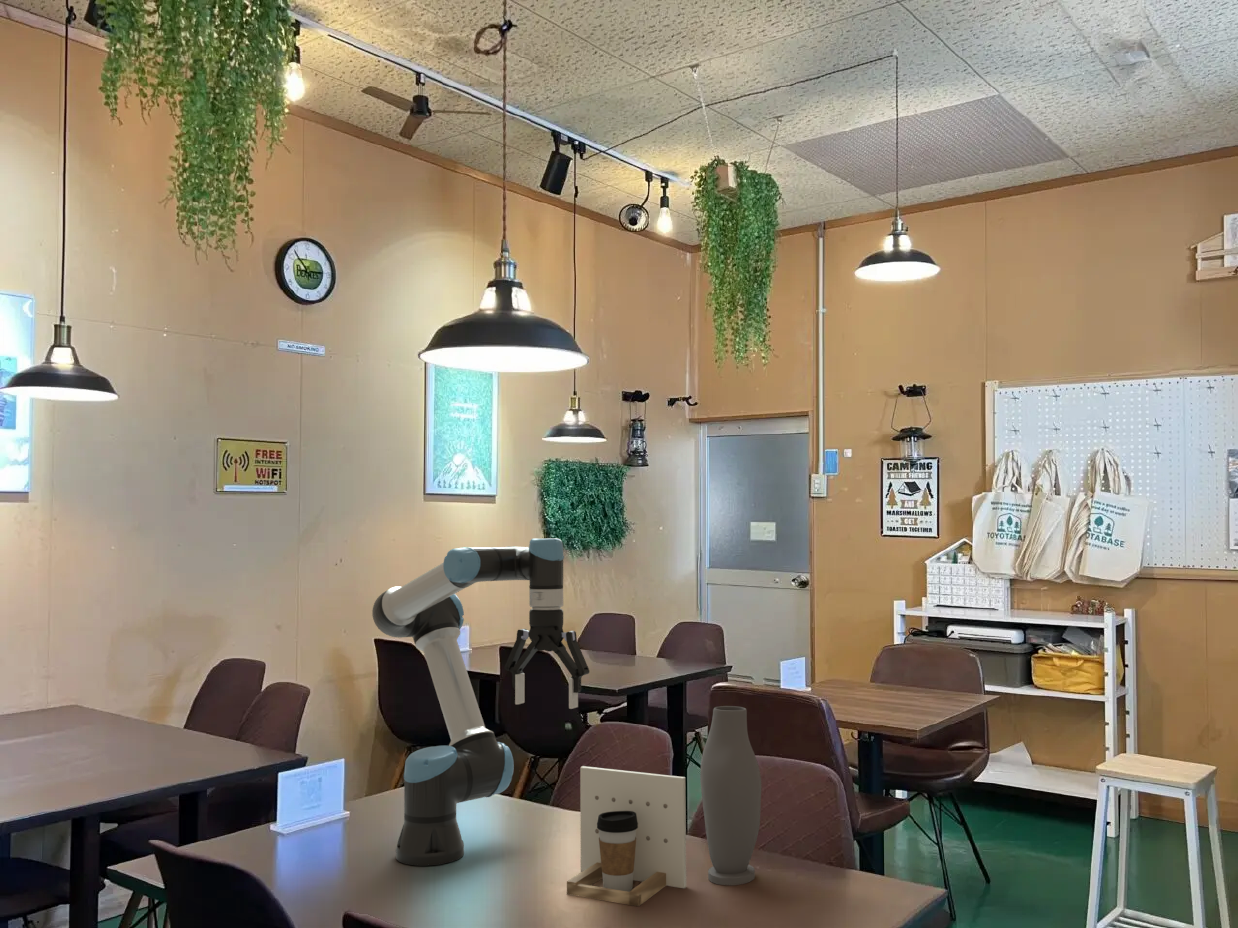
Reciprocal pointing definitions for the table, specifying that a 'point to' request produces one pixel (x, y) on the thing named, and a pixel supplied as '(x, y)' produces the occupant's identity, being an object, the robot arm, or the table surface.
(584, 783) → the wall board
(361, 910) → the table surface
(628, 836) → the coffee cup
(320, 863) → the table surface
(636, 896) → the wooden tray
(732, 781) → the vase
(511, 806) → the table surface
